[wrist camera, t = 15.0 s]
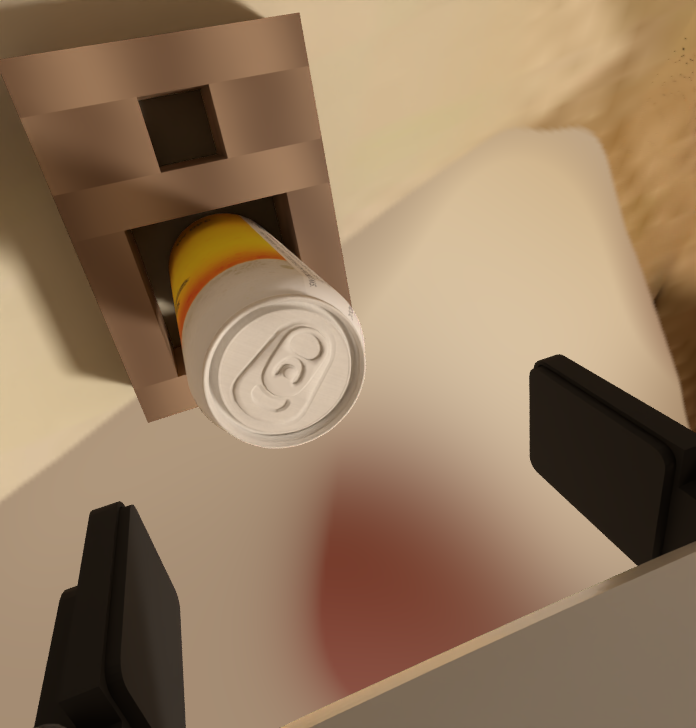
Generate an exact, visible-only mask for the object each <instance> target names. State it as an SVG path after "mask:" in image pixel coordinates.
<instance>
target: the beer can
mask: <svg viewBox="0 0 696 728" xmlns="http://www.w3.org/2000/svg"><path fill="white" fill-rule="evenodd" d="M169 277H170V283H171V289H172V294H173V300H174V306H175V312H176V317H177V323H178V329H179V335H180V340H181V346H182V352H183V357H184V363H185V369H186V375H187V380H188V385H189V388H190V391H191V394H192V396H193V398H194V400H195V402H196V404H197V405H198V407H199V408H200V409H201V411H202V412H203V413H204V414H205V416H206V417H207V418H208V419H209V420H210V421H212V422H213V423H214V424H215V425H216V426H218V427H220V428H221V429H223V430H224V431H226V432H228V433H229V434H231V435H232V436H233V437H235V438H237V439H239V440H241V441H243V442H245V443H248V444H250V445H254V446H258V447H264V448H288V447H293V446H298V445H301V444H305V443H307V442H310V441H312V440H314V439H316V438H318V437H320V436H322V435H324V434H325V433H327V432H328V431H329V430H331V429H332V428H334V427H335V426H336V425H337V424H338V423H339V422H340V421H341V420H342V419H343V418H344V417H345V416H346V415H347V414H348V412H349V411H350V410H351V408H352V407H353V405H354V404H355V402H356V400H357V398H358V396H359V394H360V391H361V389H362V386H363V382H364V377H365V370H366V358H365V342H364V336H363V331H362V328H361V324H360V322H359V320H358V317H357V315H356V314H355V312H354V310H353V309H352V307H351V306H350V305H349V303H348V302H347V301H346V300H345V299H344V298H343V297H342V296H341V295H340V294H339V293H338V292H337V291H336V290H335V289H333V288H332V287H331V286H330V285H329V284H328V283H326V282H325V281H324V280H323V279H322V278H321V277H320V276H318V275H317V274H316V273H315V272H314V271H313V270H311V269H310V268H309V267H308V266H307V265H306V264H304V263H303V262H302V261H301V260H300V259H299V258H297V257H296V256H295V255H294V254H293V253H292V252H291V251H289V250H288V249H287V248H286V247H285V246H284V245H282V244H281V243H280V242H279V241H278V240H277V239H275V238H274V237H273V236H272V235H271V234H270V233H268V232H267V231H266V230H265V229H264V228H263V227H261V226H260V225H259V224H257V223H256V222H254V221H253V220H251V219H248V218H246V217H243V216H240V215H236V214H229V213H220V214H213V215H209V216H206V217H203V218H201V219H198V220H197V221H195V222H193V223H192V224H191V225H189V226H188V227H187V228H186V229H185V230H184V231H183V232H182V233H181V234H180V235H179V237H178V238H177V240H176V242H175V243H174V246H173V248H172V251H171V254H170V258H169Z"/></svg>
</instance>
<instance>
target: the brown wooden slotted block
mask: <svg viewBox="0 0 696 728" xmlns="http://www.w3.org/2000/svg"><path fill="white" fill-rule="evenodd" d="M0 73H1V75H2V77H3V80H4V82H5V84H6V87H7V89H8V92H9V94H10V96H11V99H12V101H13V103H14V106H15V108H16V111H17V113H18V115H19V118H20V120H21V122H22V125H23V127H24V130H25V132H26V134H27V137H28V139H29V141H30V144H31V146H32V149H33V151H34V153H35V156H36V158H37V160H38V163H39V165H40V168H41V170H42V172H43V175H44V177H45V179H46V182H47V184H48V186H49V189H50V191H51V194H52V196H53V198H54V201H55V203H56V205H57V208H58V210H59V213H60V215H61V217H62V220H63V222H64V224H65V227H66V229H67V232H68V234H69V236H70V239H71V241H72V243H73V246H74V248H75V251H76V253H77V255H78V258H79V260H80V262H81V265H82V267H83V269H84V272H85V274H86V277H87V279H88V281H89V284H90V286H91V288H92V291H93V293H94V296H95V298H96V300H97V303H98V305H99V307H100V310H101V312H102V315H103V317H104V319H105V322H106V324H107V326H108V329H109V331H110V334H111V336H112V338H113V341H114V343H115V345H116V348H117V350H118V352H119V355H120V357H121V360H122V362H123V364H124V367H125V369H126V371H127V374H128V376H129V379H130V381H131V383H132V386H133V388H134V390H135V393H136V395H137V398H138V400H139V402H140V405H141V407H142V409H143V412H144V414H145V416H146V419H147V421H148V423H149V422H152V421H155V420H158V419H161V418H165V417H168V416H171V415H174V414H177V413H180V412H183V411H186V410H190V409H193V408H196V407H198V405H197V404H196V402H195V400H194V398H193V396H192V394H191V391H190V388H189V385H188V380H187V375H186V369H185V363H184V357H183V352H182V346H180V347H177V348H174V347H173V344H172V341H171V338H170V336H169V333H168V330H167V327H166V325H165V322H164V319H163V316H162V314H161V311H160V308H159V305H158V303H157V300H156V297H155V294H154V292H153V289H152V286H151V283H150V281H149V278H148V275H147V272H146V270H145V267H144V264H143V261H142V259H141V256H140V253H139V250H138V248H137V245H136V242H135V239H134V237H133V234H132V231H131V229H133V228H137V227H142V226H146V225H150V224H154V223H159V222H163V221H167V220H171V219H176V218H180V217H184V216H188V215H193V214H197V213H201V212H205V211H209V210H214V209H218V208H222V207H226V206H231V205H235V204H239V203H243V202H248V201H252V200H256V199H260V198H265V197H269V196H272V198H273V202H274V207H275V211H276V215H277V220H278V224H279V228H280V233H281V237H282V241H283V245H284V246H285V247H286V248H287V249H288V250H289V251H291V252H292V253H293V254H294V255H295V256H296V257H297V258H299V259H300V260H301V261H302V262H303V263H304V264H306V265H307V266H308V267H309V268H310V269H311V270H313V271H314V272H315V273H316V274H317V275H318V276H320V277H321V278H322V279H323V280H324V281H325V282H326V283H328V284H329V285H330V286H331V287H332V288H333V289H335V290H336V291H337V292H338V293H339V294H340V295H341V296H342V297H343V298H344V299H345V300H346V301H347V302H348V303H349V305H350V306H351V300H350V294H349V288H348V283H347V277H346V272H345V267H344V260H343V255H342V249H341V244H340V238H339V232H338V227H337V221H336V215H335V210H334V204H333V199H332V193H331V187H330V182H329V176H328V171H327V165H326V159H325V154H324V148H323V143H322V137H321V131H320V126H319V120H318V114H317V109H316V103H315V98H314V92H313V86H312V81H311V75H310V70H309V64H308V58H307V53H306V47H305V42H304V36H303V30H302V25H301V19H300V13H294V14H288V15H281V16H275V17H268V18H262V19H256V20H249V21H243V22H236V23H230V24H223V25H217V26H211V27H204V28H198V29H191V30H185V31H179V32H172V33H166V34H159V35H153V36H147V37H140V38H134V39H127V40H121V41H115V42H108V43H102V44H95V45H89V46H82V47H76V48H70V49H63V50H57V51H50V52H44V53H38V54H31V55H25V56H18V57H12V58H6V59H0ZM199 89H200V92H201V95H202V99H203V103H204V106H205V110H206V114H207V118H208V121H209V125H210V129H211V133H212V136H213V140H214V144H215V147H216V151H217V154H215V155H210V156H205V157H201V158H196V159H191V160H187V161H182V162H177V163H172V164H168V165H163V166H159V165H158V162H157V159H156V156H155V153H154V150H153V146H152V143H151V140H150V137H149V134H148V131H147V128H146V125H145V122H144V118H143V115H142V112H141V109H140V106H139V103H138V100H144V99H149V98H155V97H160V96H166V95H171V94H177V93H182V92H188V91H193V90H199ZM351 307H352V306H351Z"/></svg>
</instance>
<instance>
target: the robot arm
mask: <svg viewBox="0 0 696 728" xmlns="http://www.w3.org/2000/svg"><path fill="white" fill-rule="evenodd" d="M529 383H530V384H529V387H530V388H529V389H530V460H531V463H532V465H533V467H534V469H535V470H536V471H537V472H538V473H539V474H540V475H541V476H542V477H543V478H544V479H545V480H546V481H547V482H548V483H549V484H550V485H552V486H553V487H554V488H555V489H556V490H557V491H558V492H559V493H560V494H561V495H562V496H563V497H564V498H565V499H567V500H568V501H569V502H570V503H571V504H572V505H573V506H574V507H575V508H576V509H577V510H578V511H579V512H580V513H582V514H583V515H584V516H585V517H586V518H587V519H588V520H589V521H590V522H591V523H592V524H593V525H595V526H596V527H597V528H598V529H599V530H600V531H601V532H602V533H603V534H604V535H605V536H606V537H607V538H608V539H609V540H610V541H612V542H613V543H614V544H615V545H616V546H617V547H618V548H619V549H620V550H621V551H622V552H623V553H624V554H626V555H627V556H628V557H629V558H630V559H631V560H632V561H633V562H634V563H635V564H636V565H638V566H637V567H634V568H632V569H630V570H628V571H626V572H623V573H621V574H618V575H616V576H614V577H612V578H610V579H607V580H605V581H603V582H600V583H598V584H596V585H594V586H591V587H589V588H587V589H585V590H583V591H580V592H578V593H576V594H573V595H571V596H569V597H566V598H564V599H562V600H560V601H557V602H555V603H553V604H551V605H548V606H546V607H544V608H542V609H540V610H537V611H535V612H533V613H531V614H528V615H526V616H524V617H522V618H520V619H517V620H515V621H513V622H510V623H508V624H506V625H504V626H502V627H499V628H497V629H495V630H493V631H490V632H488V633H486V634H484V635H482V636H479V637H477V638H475V639H473V640H470V641H468V642H466V643H464V644H462V645H459V646H457V647H455V648H453V649H451V650H448V651H446V652H444V653H442V654H439V655H437V656H435V657H433V658H431V659H428V660H426V661H424V662H422V663H419V664H417V665H415V666H413V667H411V668H408V669H406V670H404V671H402V672H400V673H398V674H395V675H393V676H391V677H389V678H387V679H384V680H382V681H380V682H378V683H376V684H373V685H371V686H369V687H367V688H365V689H362V690H360V691H358V692H356V693H354V694H351V695H349V696H347V697H345V698H343V699H340V700H338V701H336V702H334V703H332V704H329V705H327V706H325V707H323V708H321V709H318V710H316V711H314V712H312V713H310V714H308V715H306V716H304V717H301V718H300V719H297V720H295V721H293V722H291V723H289V724H287V725H285V726H283V727H280V728H696V433H695V432H693V431H691V430H690V429H688V428H686V427H685V426H683V425H681V424H679V423H678V422H676V421H674V420H672V419H671V418H669V417H667V416H666V415H664V414H662V413H661V412H659V411H657V410H655V409H654V408H652V407H650V406H649V405H647V404H645V403H644V402H642V401H640V400H638V399H637V398H635V397H633V396H631V395H630V394H628V393H626V392H625V391H623V390H621V389H620V388H618V387H616V386H615V385H613V384H611V383H609V382H607V381H606V380H604V379H603V378H601V377H599V376H597V375H596V374H594V373H592V372H591V371H589V370H587V369H585V368H584V367H582V366H580V365H579V364H577V363H575V362H573V361H572V360H570V359H568V358H567V357H565V356H563V355H560V354H559V355H554V356H552V357H549V358H546V359H542V360H539V361H537V362H536V363H535V365H534V369H532V370H531V372H530V376H529ZM183 683H184V682H183V661H182V641H181V619H180V605H179V600H178V596H177V593H176V591H175V588H174V586H173V584H172V582H171V580H170V578H169V576H168V574H167V572H166V570H165V568H164V566H163V564H162V561H161V559H160V557H159V555H158V553H157V551H156V549H155V547H154V545H153V543H152V541H151V539H150V537H149V534H148V533H147V530H146V528H145V526H144V524H143V522H142V520H141V518H140V516H139V514H138V512H137V510H136V508H135V506H134V505H129V506H126V507H125V506H124V504H123V503H122V502H120V501H119V502H116V503H113V504H110V505H107V506H104V507H101V508H98V509H95V510H92V511H91V512H90V515H89V521H88V527H87V533H86V538H85V544H84V550H83V556H82V562H81V568H80V574H79V580H78V586H75V587H72V588H70V589H67V590H65V591H64V592H63V593H62V595H61V598H60V601H59V606H58V611H57V616H56V621H55V626H54V631H53V636H52V641H51V646H50V651H49V656H48V661H47V666H46V671H45V676H44V681H43V685H42V690H41V696H40V701H39V705H38V711H37V716H36V721H35V726H34V728H186V725H185V703H184V684H183Z"/></svg>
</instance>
